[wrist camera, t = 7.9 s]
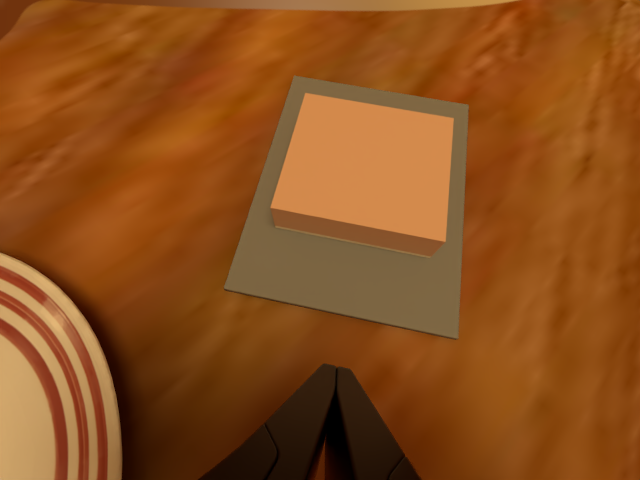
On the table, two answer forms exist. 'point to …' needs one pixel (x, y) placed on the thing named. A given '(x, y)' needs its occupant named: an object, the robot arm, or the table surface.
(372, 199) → the tile
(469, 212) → the table surface
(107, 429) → the dinner plate
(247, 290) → the mat
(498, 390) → the table surface
